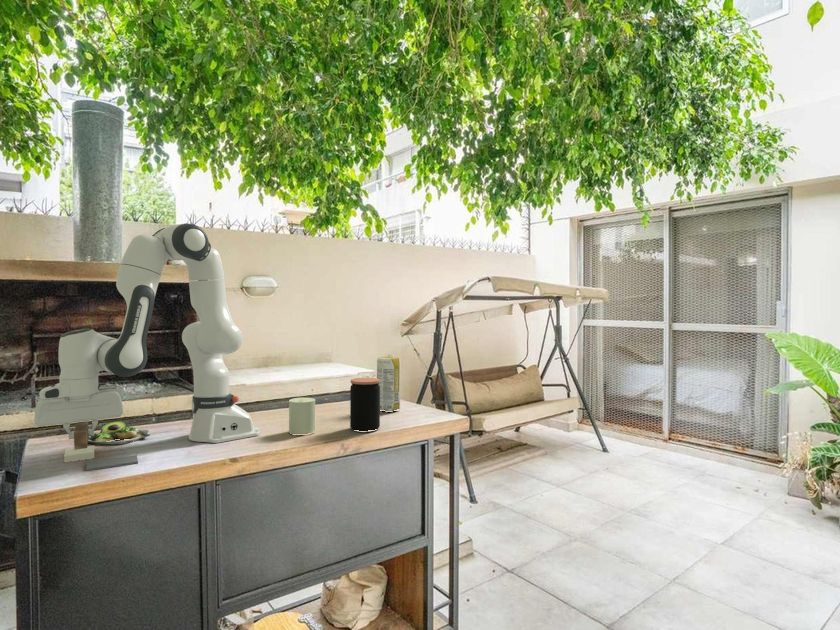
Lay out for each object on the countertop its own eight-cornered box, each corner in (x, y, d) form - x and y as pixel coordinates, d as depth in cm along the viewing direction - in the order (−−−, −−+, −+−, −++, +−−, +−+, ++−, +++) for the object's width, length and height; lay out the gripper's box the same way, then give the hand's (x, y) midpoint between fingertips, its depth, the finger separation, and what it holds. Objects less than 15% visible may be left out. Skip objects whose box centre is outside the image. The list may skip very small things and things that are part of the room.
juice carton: (402, 410, 210) (403, 354, 209) (390, 414, 204) (390, 356, 203) (386, 407, 215) (386, 353, 215) (373, 410, 209) (374, 354, 209)
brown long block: (88, 436, 143) (88, 421, 143) (87, 448, 133) (86, 431, 132) (76, 438, 141) (76, 422, 141) (74, 449, 131) (73, 433, 131)
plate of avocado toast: (167, 434, 171) (167, 421, 170) (125, 449, 153) (125, 434, 153) (120, 430, 175) (120, 417, 175) (75, 444, 157) (74, 430, 157)
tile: (94, 459, 142) (94, 452, 149) (94, 452, 142) (94, 445, 149) (64, 463, 139) (66, 456, 145) (64, 456, 139) (65, 449, 145)
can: (287, 436, 168) (287, 401, 167) (289, 429, 177) (289, 396, 176) (315, 435, 170) (315, 400, 169) (315, 428, 179) (315, 395, 178)
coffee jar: (371, 424, 186) (371, 376, 185) (385, 430, 177) (385, 380, 176) (345, 428, 180) (345, 378, 180) (358, 434, 171) (358, 382, 171)
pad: (136, 456, 144) (136, 454, 144) (137, 463, 138) (137, 461, 138) (87, 463, 138) (87, 461, 138) (86, 470, 132) (86, 468, 132)
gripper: (123, 382, 145) (124, 428, 145) (35, 390, 134) (37, 440, 134) (123, 385, 139) (125, 433, 140) (32, 393, 128) (34, 446, 129)
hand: (81, 437), depth 137 cm, fingers closed on brown long block, 3 cm apart
